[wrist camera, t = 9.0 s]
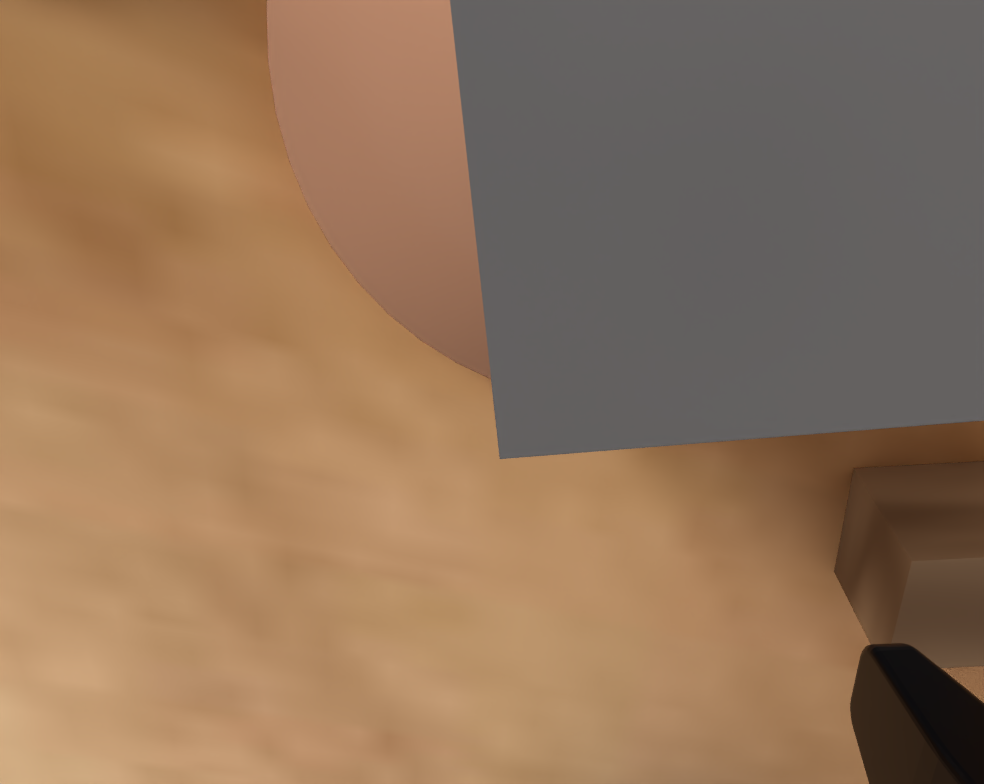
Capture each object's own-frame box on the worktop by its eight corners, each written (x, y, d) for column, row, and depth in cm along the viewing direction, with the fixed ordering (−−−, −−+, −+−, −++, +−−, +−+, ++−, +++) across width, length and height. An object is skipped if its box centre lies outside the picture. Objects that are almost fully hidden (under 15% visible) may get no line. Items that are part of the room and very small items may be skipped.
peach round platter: (946, 352, 20) (971, 377, 19) (351, 400, 20) (343, 428, 19) (1118, -475, 13) (1173, -507, 12) (193, -365, 13) (168, -386, 12)
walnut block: (962, 562, 23) (1032, 663, 20) (833, 569, 23) (883, 670, 20) (992, 458, 22) (1074, 552, 19) (853, 466, 22) (912, 561, 19)
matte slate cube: (814, 229, 17) (992, 419, 11) (494, 258, 17) (499, 459, 11) (854, -148, 14) (1139, -171, 8) (459, -106, 14) (438, -95, 8)
